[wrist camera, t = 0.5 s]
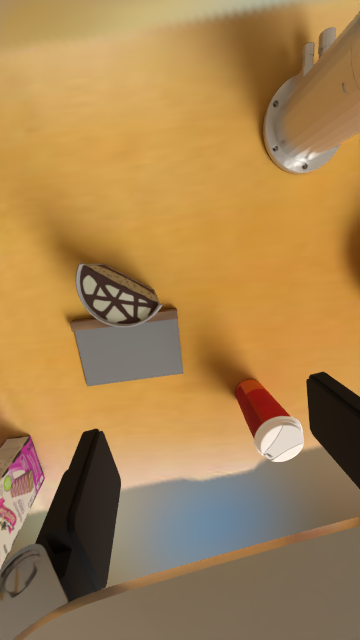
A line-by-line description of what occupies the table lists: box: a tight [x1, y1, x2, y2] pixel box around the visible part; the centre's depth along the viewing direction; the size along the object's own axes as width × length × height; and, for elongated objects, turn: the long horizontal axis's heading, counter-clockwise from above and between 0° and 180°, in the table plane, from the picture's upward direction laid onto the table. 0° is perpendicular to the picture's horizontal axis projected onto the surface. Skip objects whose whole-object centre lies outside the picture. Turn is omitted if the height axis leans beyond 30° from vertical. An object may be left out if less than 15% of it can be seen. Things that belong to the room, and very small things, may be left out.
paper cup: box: [235, 379, 304, 462], centre depth 43 cm, size 8×8×14 cm
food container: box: [76, 261, 163, 327], centre depth 37 cm, size 12×6×10 cm, turn 61°
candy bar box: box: [0, 436, 45, 569], centre depth 41 cm, size 11×5×16 cm, turn 6°
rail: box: [70, 308, 178, 331], centre depth 42 cm, size 2×18×2 cm, turn 96°
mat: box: [75, 319, 183, 386], centre depth 45 cm, size 11×18×1 cm, turn 96°
